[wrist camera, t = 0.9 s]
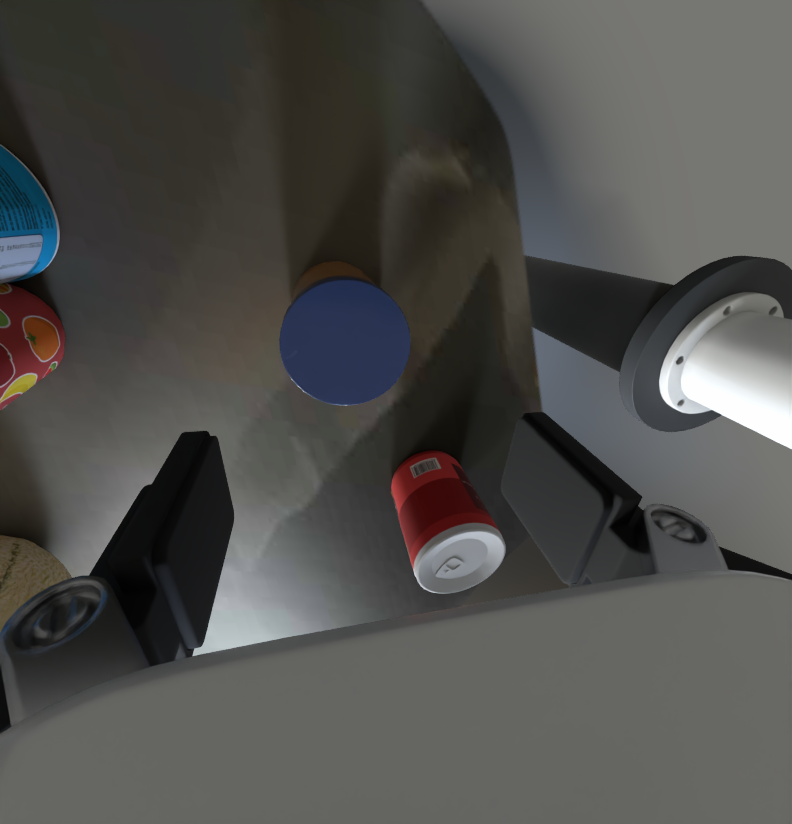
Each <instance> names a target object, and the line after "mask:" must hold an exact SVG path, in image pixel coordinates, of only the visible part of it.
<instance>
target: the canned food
mask: <svg viewBox="0 0 792 824" xmlns="http://www.w3.org/2000/svg"><path fill="white" fill-rule="evenodd" d="M391 493H392V497H393V500H394V504H395V507H396V511H397V514H398V518H399V522H400V525H401V529H402V532H403V536H404V539H405V543H406V546H407V550H408V554H409V557H410V561H411V564H412V567H413V570H414V574H415V576H416V578H417V581H418V583H419V584H420V586H422V587H423V588H424V589H426V590H428V591H430V592H434V593H454V592H458V591H462V590H465V589H468V588H470V587H472V586H474V585H477V584H478V583H480V582H482V581H483V580H485V579H486V578H487V577H489V576H490V575H491V574H492V573H493V572H494V571H495V570H496V569H497V568H498V566H499V565H500V564H501V562H502V560H503V558H504V555H505V551H506V548H505V543H504V540H503V538H502V535H501V533H500V531H499V530H498V528H497V526H496V524H495V523H494V521H493V519H492V518H491V516H490V514H489V513H488V511H487V509H486V508H485V506H484V504H483V503H482V501H481V499H480V498H479V496H478V494H477V493H476V491H475V489H474V488H473V486H472V484H471V483H470V481H469V479H468V478H467V476H466V474H465V473H464V471H463V469H462V468H461V466H460V464H459V463H458V462H457V460H455V459H454V458H453V457H451V456H450V455H448V454H447V453H444V452H441V451H424V452H421V453H417V454H415V455H413V456H411V457H409V458H408V459H407V460H405V461H404V462H403V463H402V464H401V465H400V466H399V467H398V469H397V470H396V472H395V474H394V476H393V479H392V485H391Z"/></svg>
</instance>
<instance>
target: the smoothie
mask: <svg viewBox="0 0 792 824" xmlns="http://www.w3.org/2000/svg"><path fill="white" fill-rule="evenodd" d="M64 346H65V332H64V329H63V326H62V323H61V321H60V320H59V318H58V317H57V315H56V314H55V313H54V311H53V310H52V309H51V308H50V307H49V306H48V305H47V304H46V303H44V302H43V301H42V300H41V299H40V298H39V297H37V296H35V295H33V294H32V293H30V292H28V291H26V290H24V289H23V288H20V287H16V286H13V285H11V284H9V283H2V284H0V410H2V409H3V408H4V407H5V406H7V405H8V404H9V403H11V402H12V401H13V400H15V399H16V398H17V397H19V396H20V395H21V394H23V393H24V392H25V391H26V390H28V389H29V388H30V387H32V386H33V385H34V384H36V383H37V382H38V381H40V380H41V379H42V378H44V377H45V376H46V375H47V374H49V373H50V372H51V371H53V370H54V369H55V368H57V367H58V365H59V363H60V361H61V360H62V358H63V356H64Z"/></svg>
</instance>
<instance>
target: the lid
mask: <svg viewBox="0 0 792 824" xmlns="http://www.w3.org/2000/svg"><path fill="white" fill-rule="evenodd" d="M280 353H281V358H282V361H283V364H284V366H285V368H286V371H287V373H288V374H289V376H290V377H291V379H292V380H293V381H294V382H295V383H296V385H297V386H298V387H299V388H301V389H302V390H303V391H304V392H306V393H307V394H308V395H310V396H312V397H314V398H316V399H317V400H320V401H323V402H326V403H330V404H335V405H356V404H360V403H364V402H367V401H370V400H372V399H375V398H377V397H378V396H380V395H382V394H383V393H385V392H386V391H387V390H388V389H390V388H391V387H392V386H393V385H394V384H395V383H396V381H397V380H398V379H399V377H400V376H401V374H402V372H403V371H404V369H405V366H406V364H407V361H408V358H409V353H410V331H409V327H408V323H407V321H406V318H405V316H404V314H403V312H402V311H401V309H400V307H399V306H398V305H397V304H396V302H395V301H394V300H393V299H392V298H391V297H390V296H389V295H388V294H387V293H386V292H385V291H384V290H383V289H381V288H380V287H379V286H377V285H375V284H374V283H372V282H370V281H368V280H365V279H362V278H358V277H354V276H345V275H344V276H332V277H327V278H324V279H321V280H318V281H316V282H314V283H312V284H310V285H309V286H307V287H306V288H304V289H303V290H302V291H301V292H300V293H299V294H298V295H297V296H296V297H295V298H294V300H293V301H292V302H291V304H290V306H289V307H288V309H287V311H286V314H285V316H284V320H283V324H282V328H281V331H280Z"/></svg>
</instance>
